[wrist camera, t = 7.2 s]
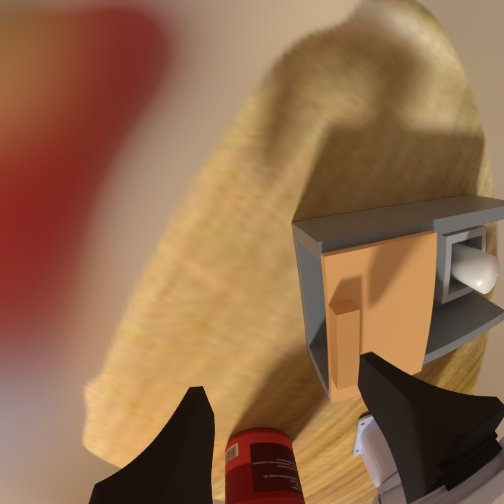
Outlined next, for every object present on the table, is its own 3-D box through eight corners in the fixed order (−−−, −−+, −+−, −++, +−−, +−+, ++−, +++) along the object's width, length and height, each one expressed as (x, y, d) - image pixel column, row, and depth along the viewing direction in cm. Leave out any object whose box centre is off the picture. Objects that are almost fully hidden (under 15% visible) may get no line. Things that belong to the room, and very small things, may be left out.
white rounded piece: (462, 269, 20) (496, 287, 16) (441, 279, 20) (476, 299, 15) (463, 238, 19) (500, 251, 15) (442, 245, 19) (480, 261, 15)
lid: (417, 366, 16) (429, 380, 14) (329, 397, 15) (336, 416, 14) (430, 230, 13) (450, 237, 11) (320, 253, 13) (332, 264, 11)
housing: (465, 296, 22) (503, 320, 16) (307, 349, 22) (327, 399, 16) (470, 194, 20) (517, 203, 13) (291, 222, 19) (317, 242, 13)
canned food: (233, 463, 26) (235, 533, 16) (217, 430, 24) (215, 516, 14) (293, 454, 27) (308, 524, 16) (287, 420, 25) (307, 506, 14)
